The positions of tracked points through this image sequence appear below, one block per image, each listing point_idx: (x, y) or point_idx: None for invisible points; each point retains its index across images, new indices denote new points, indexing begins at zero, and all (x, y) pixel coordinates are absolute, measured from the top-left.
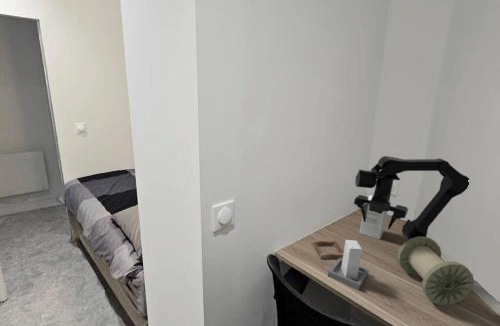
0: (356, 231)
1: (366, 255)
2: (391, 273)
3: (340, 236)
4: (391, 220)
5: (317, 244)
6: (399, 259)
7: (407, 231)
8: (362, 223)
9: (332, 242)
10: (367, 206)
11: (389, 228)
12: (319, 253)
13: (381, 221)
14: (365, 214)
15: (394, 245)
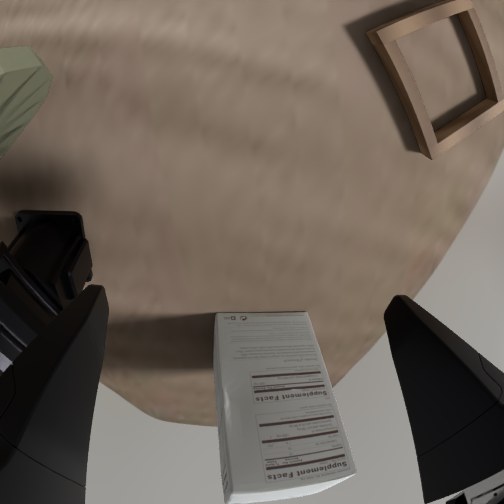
0: (319, 315)
1: (255, 118)
2: (98, 27)
3: (392, 235)
4: (13, 417)
5: (482, 104)
6: (26, 48)
7: (5, 343)
8: (315, 354)
9: (440, 138)
10: (431, 477)
11: (80, 296)
12: (474, 13)
13: (229, 398)
14: (449, 374)
15: (146, 303)
